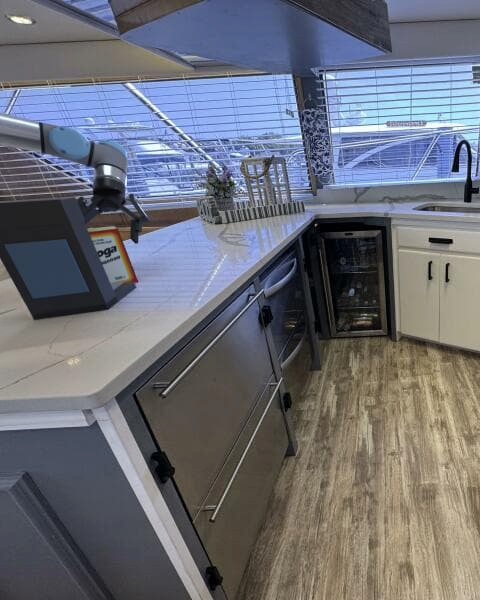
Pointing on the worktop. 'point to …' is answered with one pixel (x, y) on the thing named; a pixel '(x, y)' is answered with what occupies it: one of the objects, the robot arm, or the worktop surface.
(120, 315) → the worktop surface
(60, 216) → the slanted screen kiosk
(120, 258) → the baking soda box
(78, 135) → the robot arm
